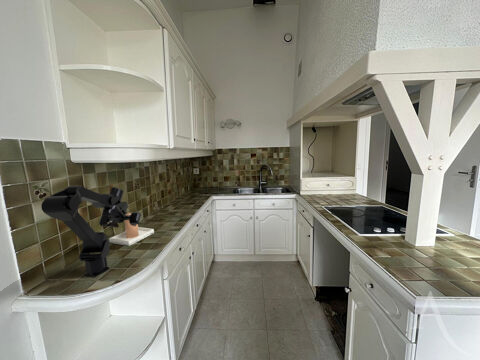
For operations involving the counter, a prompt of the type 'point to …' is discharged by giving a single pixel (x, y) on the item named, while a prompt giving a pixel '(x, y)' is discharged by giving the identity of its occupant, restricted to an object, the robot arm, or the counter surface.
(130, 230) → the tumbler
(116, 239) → the tray
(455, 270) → the counter surface
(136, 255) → the counter surface
